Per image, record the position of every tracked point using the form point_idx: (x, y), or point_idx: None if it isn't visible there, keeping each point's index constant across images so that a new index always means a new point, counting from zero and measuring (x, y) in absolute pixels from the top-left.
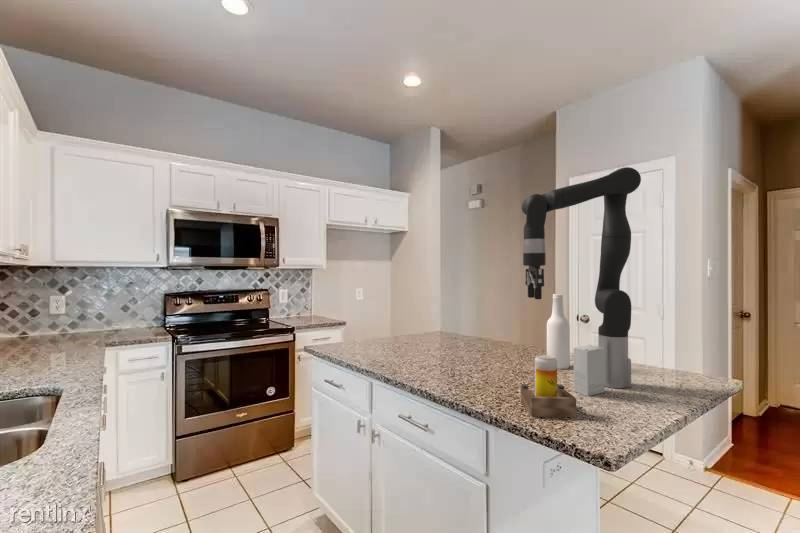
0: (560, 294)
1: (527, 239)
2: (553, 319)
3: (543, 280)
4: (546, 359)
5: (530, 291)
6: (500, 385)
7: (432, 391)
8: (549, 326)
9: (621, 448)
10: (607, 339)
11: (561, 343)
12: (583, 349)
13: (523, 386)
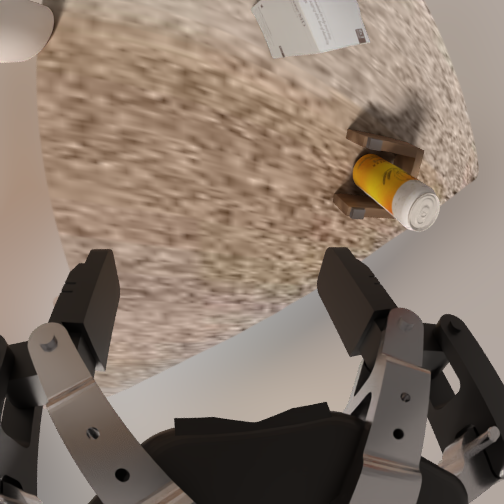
0: None
1: None
2: None
3: (482, 359)
4: (435, 217)
5: (106, 319)
6: (213, 212)
7: (250, 322)
8: None
9: (471, 150)
10: None
11: (17, 17)
12: (354, 41)
13: (362, 217)
